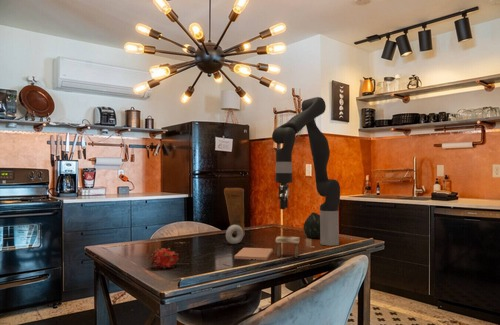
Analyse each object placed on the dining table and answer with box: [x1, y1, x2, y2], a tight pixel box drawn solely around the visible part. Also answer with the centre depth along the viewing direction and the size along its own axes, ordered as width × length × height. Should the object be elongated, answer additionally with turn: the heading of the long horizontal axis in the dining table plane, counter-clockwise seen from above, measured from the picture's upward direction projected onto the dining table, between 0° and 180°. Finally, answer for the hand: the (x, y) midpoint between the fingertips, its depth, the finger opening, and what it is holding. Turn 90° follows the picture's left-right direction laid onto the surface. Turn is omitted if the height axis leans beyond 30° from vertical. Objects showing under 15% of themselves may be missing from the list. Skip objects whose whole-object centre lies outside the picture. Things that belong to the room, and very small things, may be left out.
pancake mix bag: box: [223, 187, 246, 237], centre depth 223 cm, size 7×19×28 cm, turn 34°
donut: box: [225, 225, 244, 245], centre depth 192 cm, size 10×4×10 cm, turn 119°
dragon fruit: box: [149, 247, 181, 270], centre depth 145 cm, size 8×8×12 cm
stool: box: [275, 235, 301, 259], centre depth 163 cm, size 10×6×8 cm, turn 78°
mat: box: [233, 247, 274, 261], centre depth 166 cm, size 14×18×1 cm
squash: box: [302, 212, 320, 240], centre depth 210 cm, size 14×15×15 cm
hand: (283, 208), depth 166 cm, fingers open, 8 cm apart
